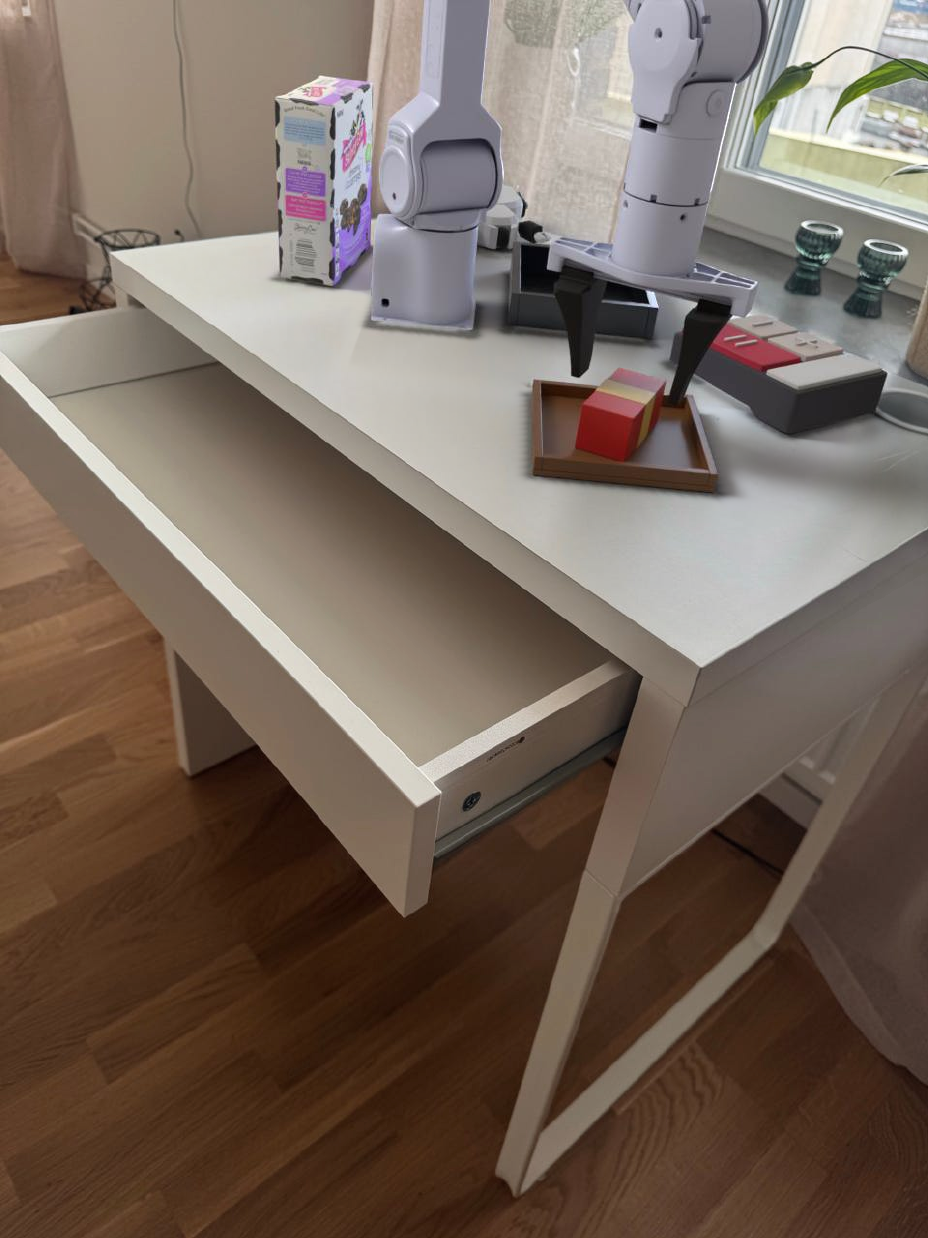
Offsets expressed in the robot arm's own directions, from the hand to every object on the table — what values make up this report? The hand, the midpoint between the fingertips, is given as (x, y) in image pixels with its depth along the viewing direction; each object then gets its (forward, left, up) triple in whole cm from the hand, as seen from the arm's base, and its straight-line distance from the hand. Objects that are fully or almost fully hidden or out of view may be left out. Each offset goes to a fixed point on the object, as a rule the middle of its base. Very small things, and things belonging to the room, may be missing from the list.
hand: (627, 386), depth 72 cm
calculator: (+15, +13, -5) cm, 20 cm away
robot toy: (-12, +48, -5) cm, 50 cm away
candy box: (-28, +34, -5) cm, 44 cm away
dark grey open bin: (-2, +28, -5) cm, 28 cm away
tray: (0, 0, -5) cm, 5 cm away
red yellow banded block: (0, 0, -4) cm, 4 cm away
